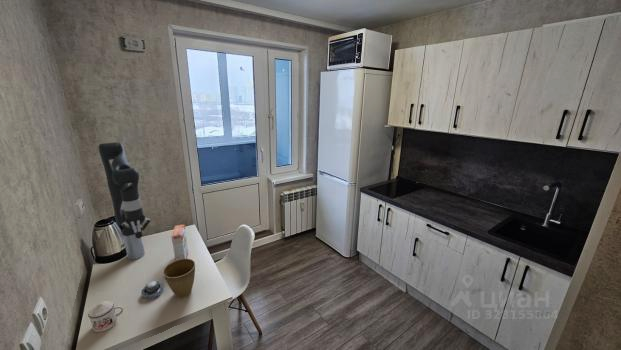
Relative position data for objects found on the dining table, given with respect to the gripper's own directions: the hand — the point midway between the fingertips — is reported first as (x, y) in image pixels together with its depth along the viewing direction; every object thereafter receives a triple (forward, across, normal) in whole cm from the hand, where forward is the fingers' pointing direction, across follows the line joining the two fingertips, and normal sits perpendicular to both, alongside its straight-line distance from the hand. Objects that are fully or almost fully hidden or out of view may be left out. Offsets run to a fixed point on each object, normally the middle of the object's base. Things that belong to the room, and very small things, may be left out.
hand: (139, 237), depth 132 cm
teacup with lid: (+29, +15, +21) cm, 39 cm away
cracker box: (+29, -18, -16) cm, 38 cm away
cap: (+29, -2, +9) cm, 30 cm away
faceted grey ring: (+29, -2, +9) cm, 30 cm away
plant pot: (+29, -16, +17) cm, 37 cm away
